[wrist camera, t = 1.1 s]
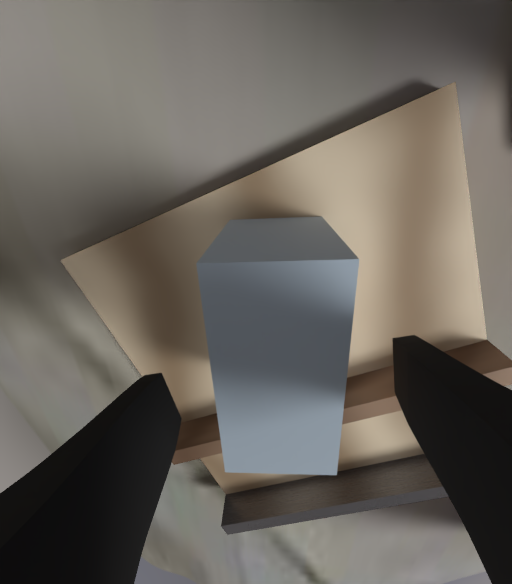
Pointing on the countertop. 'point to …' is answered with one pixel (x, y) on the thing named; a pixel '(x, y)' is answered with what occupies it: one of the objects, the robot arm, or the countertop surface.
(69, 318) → the countertop surface
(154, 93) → the countertop surface
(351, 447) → the shelf
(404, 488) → the price rail
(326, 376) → the carton
